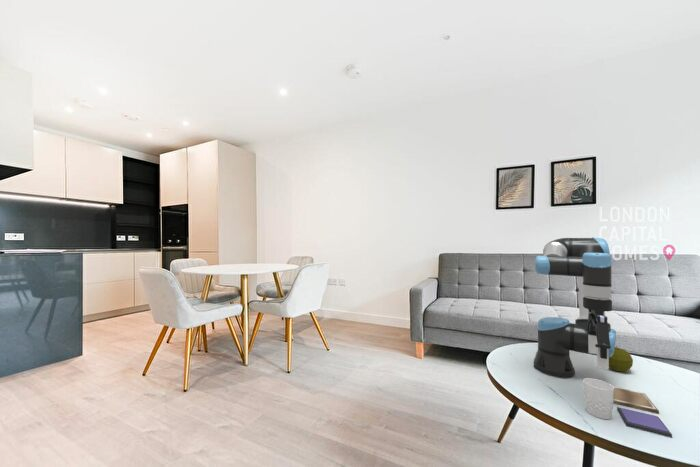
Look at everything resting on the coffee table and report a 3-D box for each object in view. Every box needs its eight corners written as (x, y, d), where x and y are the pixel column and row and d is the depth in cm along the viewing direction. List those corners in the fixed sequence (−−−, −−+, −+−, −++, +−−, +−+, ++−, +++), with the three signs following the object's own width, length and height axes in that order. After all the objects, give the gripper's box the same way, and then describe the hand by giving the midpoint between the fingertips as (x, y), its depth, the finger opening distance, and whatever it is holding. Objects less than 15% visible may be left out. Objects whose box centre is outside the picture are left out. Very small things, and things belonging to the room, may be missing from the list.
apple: (613, 374, 124) (612, 349, 124) (597, 364, 134) (597, 341, 134) (639, 376, 122) (638, 350, 123) (621, 366, 132) (621, 342, 132)
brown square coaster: (608, 402, 102) (608, 398, 102) (599, 386, 113) (599, 383, 113) (658, 413, 96) (658, 410, 96) (644, 395, 107) (644, 392, 107)
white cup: (577, 407, 99) (577, 378, 100) (598, 406, 100) (597, 377, 100) (599, 421, 91) (598, 390, 92) (621, 420, 92) (620, 389, 92)
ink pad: (626, 426, 89) (626, 421, 89) (617, 409, 98) (617, 406, 98) (672, 437, 84) (672, 433, 84) (658, 419, 92) (658, 415, 93)
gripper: (623, 306, 84) (624, 378, 83) (602, 293, 105) (603, 350, 105) (590, 303, 88) (591, 371, 87) (576, 291, 109) (577, 346, 109)
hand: (597, 360), depth 96 cm, fingers open, 13 cm apart
